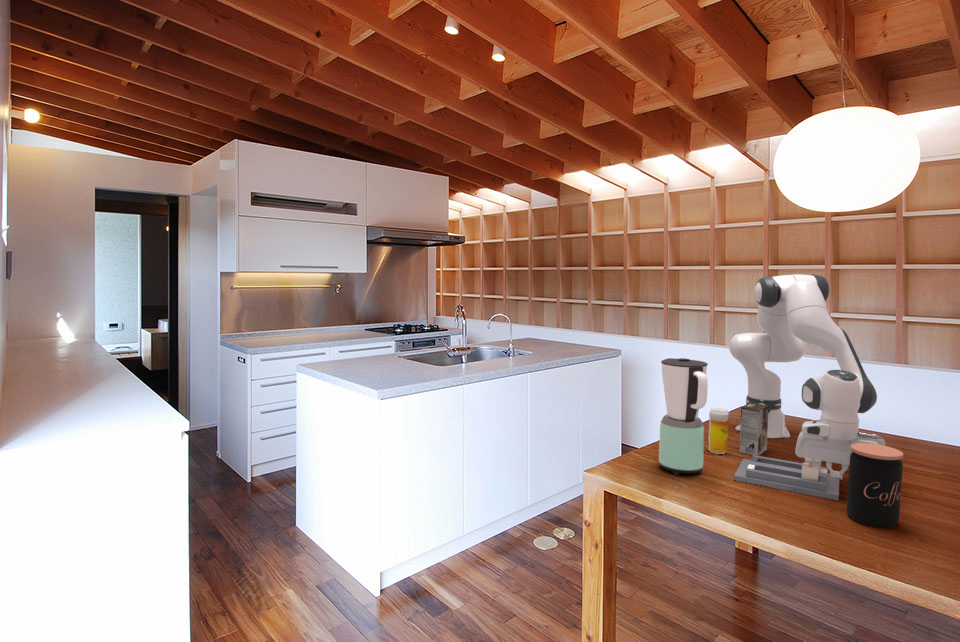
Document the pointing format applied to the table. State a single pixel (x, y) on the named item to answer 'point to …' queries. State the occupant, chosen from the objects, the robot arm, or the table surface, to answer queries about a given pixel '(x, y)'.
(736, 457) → the table surface
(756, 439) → the coffee box
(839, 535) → the table surface
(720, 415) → the beer can
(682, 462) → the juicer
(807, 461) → the tab
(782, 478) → the switch bank
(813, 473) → the tab
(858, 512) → the coffee jar
